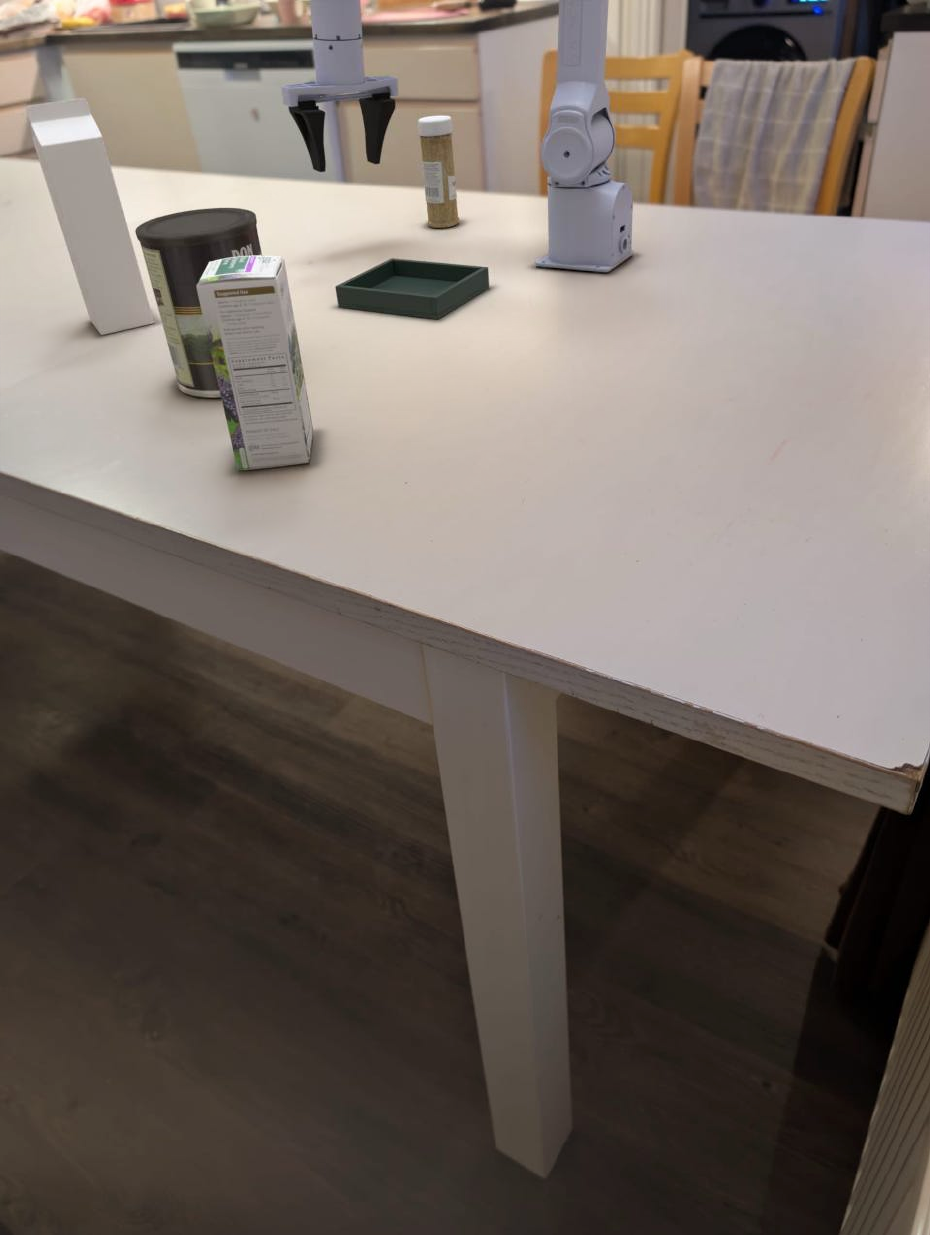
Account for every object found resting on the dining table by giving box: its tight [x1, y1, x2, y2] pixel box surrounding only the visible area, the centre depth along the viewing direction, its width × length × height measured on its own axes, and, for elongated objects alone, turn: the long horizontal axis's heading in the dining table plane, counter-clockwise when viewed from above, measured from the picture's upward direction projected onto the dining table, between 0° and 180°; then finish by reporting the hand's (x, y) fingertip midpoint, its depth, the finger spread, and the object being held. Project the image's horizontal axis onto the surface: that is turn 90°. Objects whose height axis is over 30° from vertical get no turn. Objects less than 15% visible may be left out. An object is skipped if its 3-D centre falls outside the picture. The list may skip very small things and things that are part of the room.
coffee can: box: [134, 207, 263, 399], centre depth 83 cm, size 10×10×14 cm
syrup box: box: [196, 254, 314, 471], centre depth 68 cm, size 6×6×14 cm
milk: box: [25, 97, 155, 336], centre depth 96 cm, size 6×6×22 cm
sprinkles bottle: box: [417, 115, 460, 229], centre depth 124 cm, size 5×5×14 cm
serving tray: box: [334, 257, 490, 320], centre depth 102 cm, size 13×11×2 cm
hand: (346, 166), depth 113 cm, fingers open, 7 cm apart
